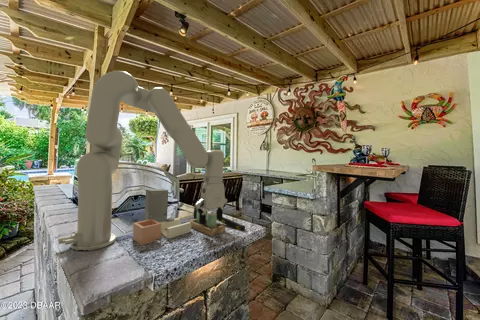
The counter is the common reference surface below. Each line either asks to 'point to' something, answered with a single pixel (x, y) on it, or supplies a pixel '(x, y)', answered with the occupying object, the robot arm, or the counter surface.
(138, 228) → the orange open box
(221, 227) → the trough
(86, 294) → the counter surface
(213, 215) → the cylinder
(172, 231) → the cradle
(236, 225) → the mallet
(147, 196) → the skincare box
